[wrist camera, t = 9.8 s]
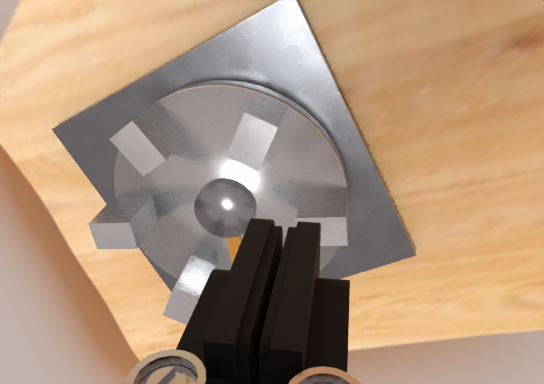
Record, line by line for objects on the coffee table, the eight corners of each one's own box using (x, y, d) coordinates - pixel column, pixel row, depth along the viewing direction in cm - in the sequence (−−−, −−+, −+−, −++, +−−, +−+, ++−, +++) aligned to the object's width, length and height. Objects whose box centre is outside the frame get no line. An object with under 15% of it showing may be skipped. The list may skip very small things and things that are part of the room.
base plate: (294, -9, 34) (292, -7, 32) (415, 248, 42) (416, 256, 41) (58, 125, 42) (50, 129, 41) (197, 317, 50) (194, 325, 49)
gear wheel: (95, 90, 38) (50, 116, 33) (341, 68, 34) (337, 93, 29) (154, 284, 47) (126, 330, 42) (354, 284, 43) (353, 336, 38)
